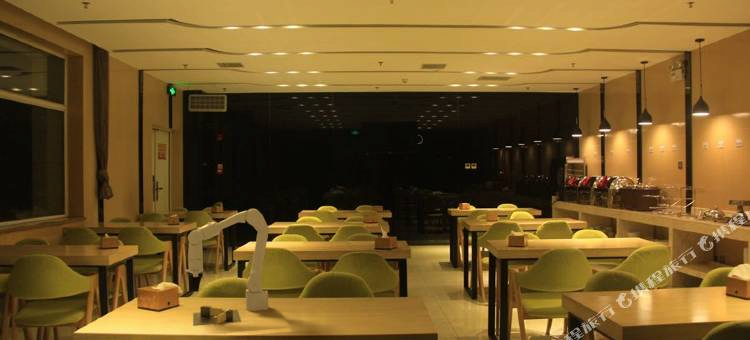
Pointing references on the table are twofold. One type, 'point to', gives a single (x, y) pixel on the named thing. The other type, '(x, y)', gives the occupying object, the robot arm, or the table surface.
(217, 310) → the knob
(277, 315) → the table surface
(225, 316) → the knob
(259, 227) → the robot arm
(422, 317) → the table surface
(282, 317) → the table surface
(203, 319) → the levelling plate
